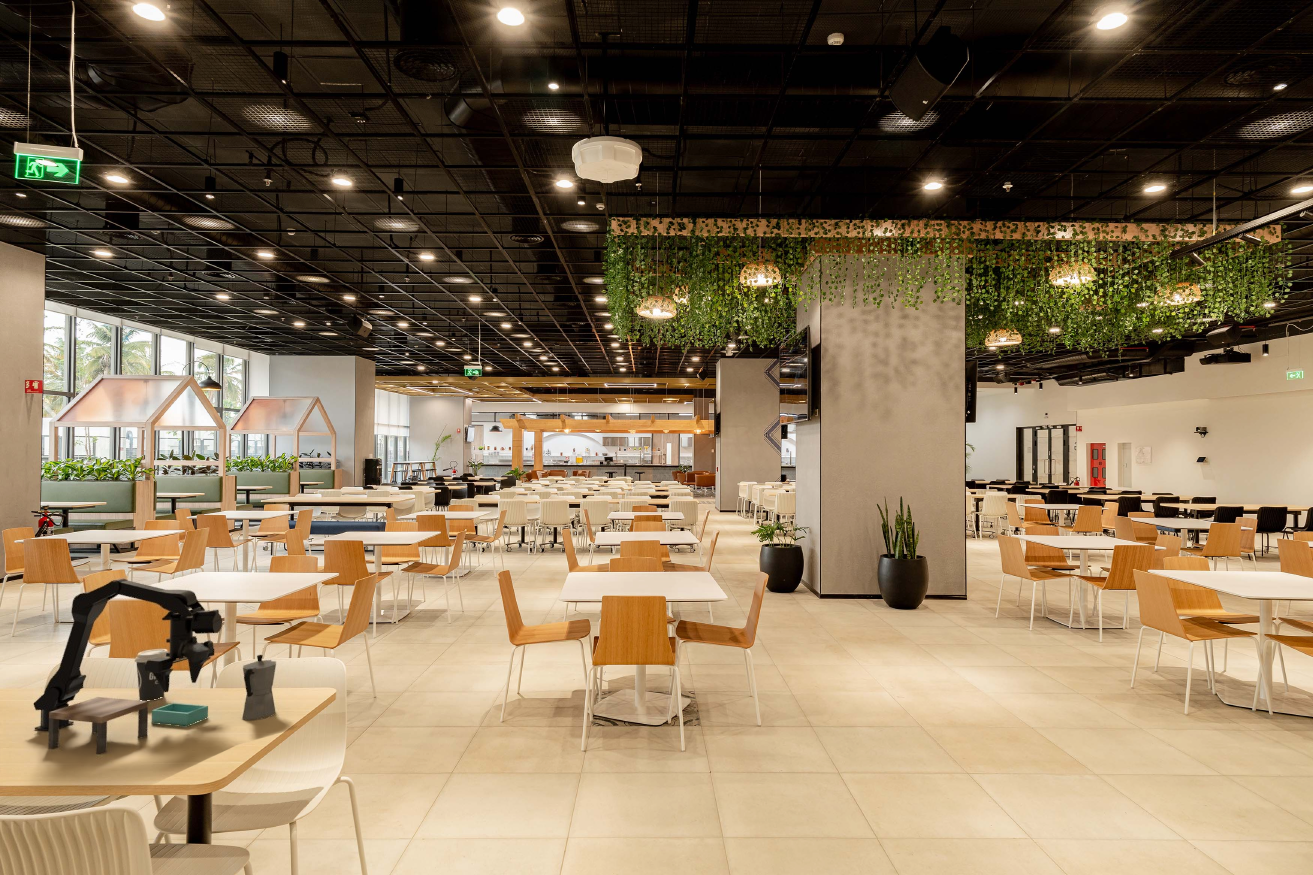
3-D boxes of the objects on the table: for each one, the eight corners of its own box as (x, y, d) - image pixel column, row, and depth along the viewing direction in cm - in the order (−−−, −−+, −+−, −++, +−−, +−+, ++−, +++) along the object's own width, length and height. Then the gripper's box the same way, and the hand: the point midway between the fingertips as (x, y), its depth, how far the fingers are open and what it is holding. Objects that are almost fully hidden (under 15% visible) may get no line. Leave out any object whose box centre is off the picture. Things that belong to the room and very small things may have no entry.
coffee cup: (139, 705, 224) (140, 657, 225) (129, 699, 230) (130, 652, 231) (174, 697, 232) (175, 650, 233) (163, 691, 238) (164, 646, 238)
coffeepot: (253, 708, 220) (253, 649, 221) (284, 706, 221) (285, 648, 222) (228, 726, 205) (228, 663, 205) (262, 724, 205) (262, 661, 206)
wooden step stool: (48, 748, 189) (49, 712, 190) (97, 730, 202) (98, 696, 202) (100, 754, 185) (101, 716, 185) (147, 735, 198) (148, 700, 198)
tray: (187, 727, 205) (187, 713, 205) (151, 724, 208) (151, 710, 208) (207, 719, 212) (208, 705, 212) (173, 715, 215) (173, 702, 215)
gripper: (175, 642, 200) (174, 698, 199) (229, 628, 218) (228, 679, 217) (143, 641, 203) (142, 696, 202) (200, 626, 221) (199, 677, 220)
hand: (180, 687), depth 210 cm, fingers open, 9 cm apart
